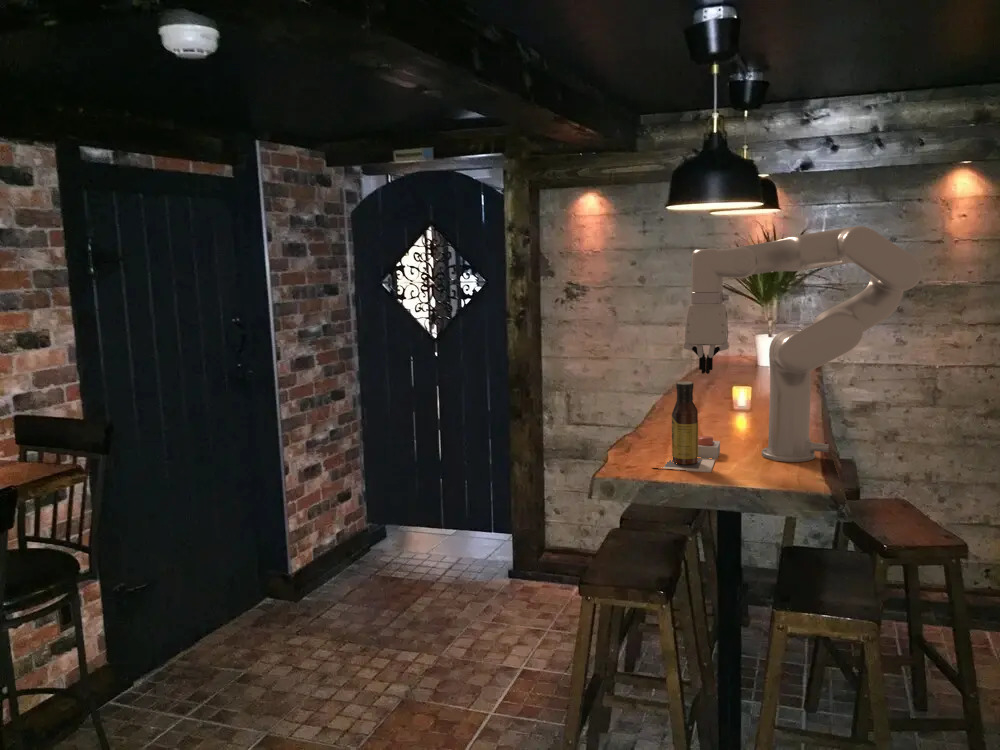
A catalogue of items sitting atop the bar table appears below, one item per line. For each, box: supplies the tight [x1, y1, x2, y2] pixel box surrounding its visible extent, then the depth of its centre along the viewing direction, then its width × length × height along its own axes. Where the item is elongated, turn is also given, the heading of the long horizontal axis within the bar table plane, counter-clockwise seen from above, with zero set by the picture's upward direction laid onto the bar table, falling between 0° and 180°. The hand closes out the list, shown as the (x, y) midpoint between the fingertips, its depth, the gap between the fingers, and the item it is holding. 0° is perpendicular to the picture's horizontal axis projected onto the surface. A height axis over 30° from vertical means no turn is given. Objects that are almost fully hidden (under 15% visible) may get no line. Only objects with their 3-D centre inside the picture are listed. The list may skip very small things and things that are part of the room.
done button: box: [698, 435, 714, 446], centre depth 209 cm, size 4×4×3 cm
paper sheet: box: [661, 458, 716, 473], centre depth 201 cm, size 14×12×1 cm
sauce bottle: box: [671, 380, 699, 465], centre depth 200 cm, size 7×6×20 cm
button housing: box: [697, 440, 721, 460], centre depth 210 cm, size 7×7×3 cm
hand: (705, 372), depth 207 cm, fingers closed
